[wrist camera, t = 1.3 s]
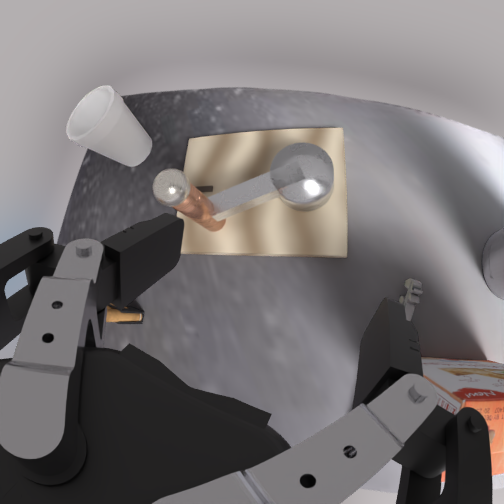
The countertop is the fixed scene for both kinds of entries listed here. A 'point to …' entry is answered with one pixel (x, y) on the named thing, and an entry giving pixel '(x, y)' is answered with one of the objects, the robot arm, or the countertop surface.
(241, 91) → the countertop surface
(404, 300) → the caliper
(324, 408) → the countertop surface
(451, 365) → the cracker box
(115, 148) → the foam cup
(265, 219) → the stand plate
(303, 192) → the lever
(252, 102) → the countertop surface
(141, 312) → the ammunition clip
